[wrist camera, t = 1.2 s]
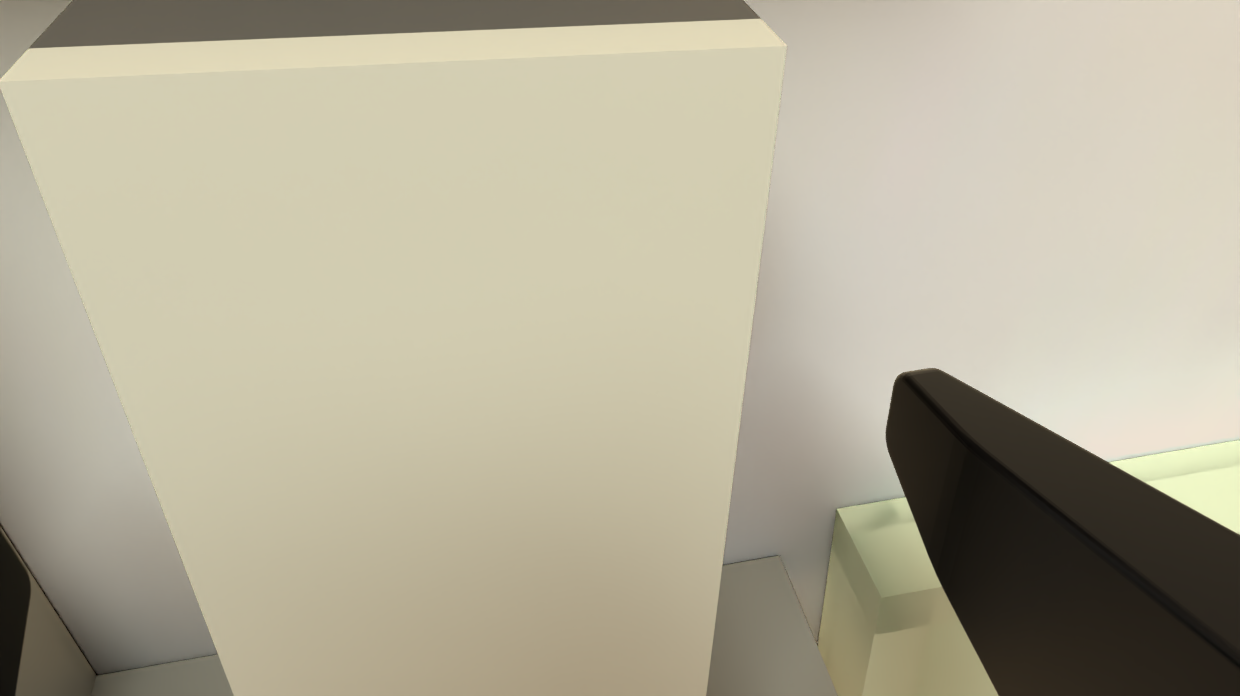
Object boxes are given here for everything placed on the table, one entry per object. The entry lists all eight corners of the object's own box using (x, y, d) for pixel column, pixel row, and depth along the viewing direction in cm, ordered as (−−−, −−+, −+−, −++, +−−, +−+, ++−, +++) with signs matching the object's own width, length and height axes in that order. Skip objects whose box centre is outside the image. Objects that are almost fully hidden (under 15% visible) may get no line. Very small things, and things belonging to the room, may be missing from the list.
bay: (882, -572, 8) (1072, -659, 6) (776, 590, 18) (833, 733, 16) (-838, -527, 7) (-1510, -619, 4) (58, 719, 16) (-1, 901, 14)
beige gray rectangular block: (641, -106, 10) (787, 45, 6) (624, 480, 16) (698, 759, 12) (162, -97, 10) (-3, 81, 6) (315, 517, 15) (284, 828, 11)
